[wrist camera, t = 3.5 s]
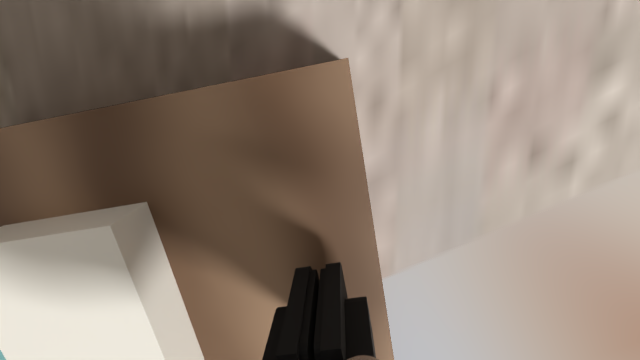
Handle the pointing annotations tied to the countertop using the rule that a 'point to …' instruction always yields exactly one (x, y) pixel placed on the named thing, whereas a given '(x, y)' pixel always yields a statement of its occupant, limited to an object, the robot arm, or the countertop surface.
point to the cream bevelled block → (91, 290)
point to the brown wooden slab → (219, 192)
